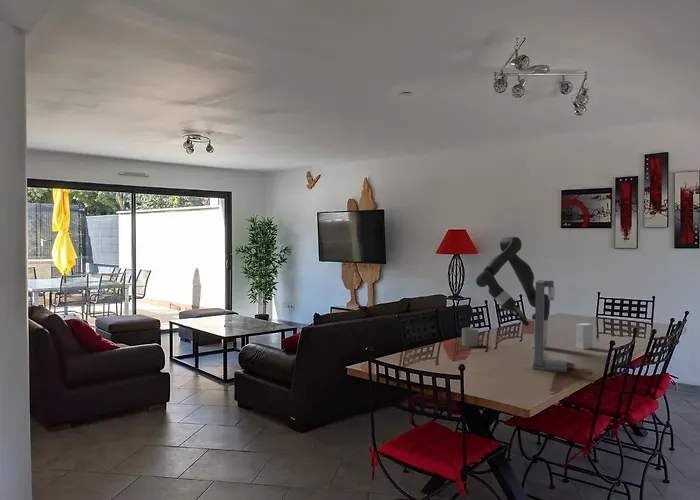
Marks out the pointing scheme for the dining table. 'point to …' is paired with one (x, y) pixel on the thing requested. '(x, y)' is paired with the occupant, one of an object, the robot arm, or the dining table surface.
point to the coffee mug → (470, 337)
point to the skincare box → (584, 336)
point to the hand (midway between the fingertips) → (528, 324)
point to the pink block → (529, 327)
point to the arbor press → (543, 359)
